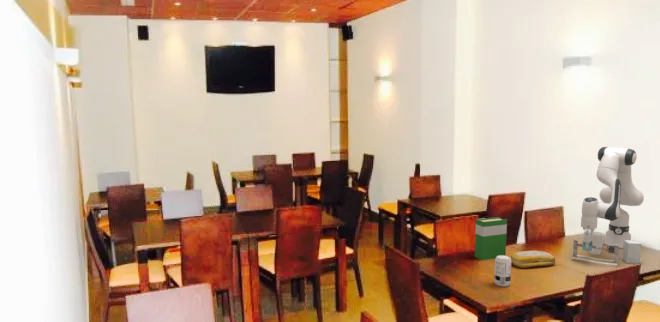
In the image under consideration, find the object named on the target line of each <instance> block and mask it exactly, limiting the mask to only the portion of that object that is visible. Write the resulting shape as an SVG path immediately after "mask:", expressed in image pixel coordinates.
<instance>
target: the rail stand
mask: <svg viewBox="0 0 660 322" xmlns="http://www.w3.org/2000/svg"><path fill="white" fill-rule="evenodd" d="M578 241H579V239H576V238H574V239H573V244H572V245H573V248H572V258H571V261H573V262H579V263H583V264H584V263H585V264H592V265H599V266H605V267H611V268H618V258H619V248H618V247H619V245H615V246H608V245H606V246H602V247H599V246H592V248H594V249H601V251H602V250H604V251H605V252H608V254H613V259H607V258H600V257H594V256H588V255H580V254H578V247H583V243H578Z"/></svg>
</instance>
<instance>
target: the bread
mask: <svg viewBox="0 0 660 322" xmlns="http://www.w3.org/2000/svg"><path fill="white" fill-rule="evenodd" d="M510 259H511V265H512V266H515V267H517V268H519V269H529V268H533V267H534V268H535V267H545V266H546V267H549V266H553V265H555V264H556V257H555V256H554V255H552V254H551V253H549V252H547V251H541V250H525V251H523V250H522V251H519V252H514V253H512V254H511V256H510Z"/></svg>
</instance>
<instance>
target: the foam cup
mask: <svg viewBox="0 0 660 322" xmlns="http://www.w3.org/2000/svg"><path fill="white" fill-rule="evenodd" d="M605 236H606V235H605V233H603V232H599V231H593V235H592V238H591V241H593V242H592V246H599V247H603V245H604V244H603V240H605ZM588 252H589V254H591V255H597V256H599V255H601V254H602V250H601V249H594V248H592V251H588Z"/></svg>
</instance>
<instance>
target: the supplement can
mask: <svg viewBox="0 0 660 322" xmlns="http://www.w3.org/2000/svg"><path fill="white" fill-rule="evenodd" d="M493 275H494V278H493V282H494V284H495V285H496V286H497V287H503V288H504V287H505V288H507V287H509V286H510V285H511V278H512V277H511V276H512V262H511V256H508V255H498V256H497V257H496V258H495V259H494V274H493Z"/></svg>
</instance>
